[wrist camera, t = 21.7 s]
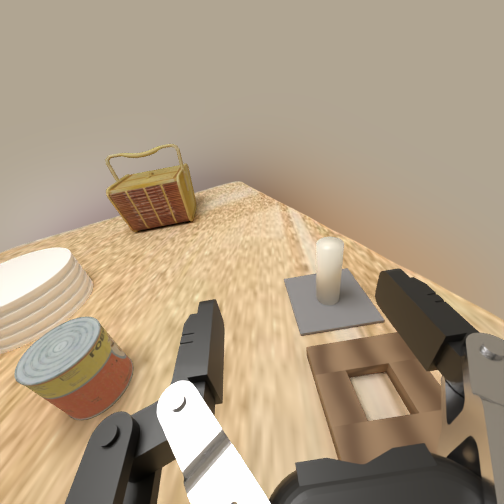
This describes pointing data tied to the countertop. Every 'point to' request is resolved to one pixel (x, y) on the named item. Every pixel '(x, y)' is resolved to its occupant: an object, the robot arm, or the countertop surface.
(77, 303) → the plate stack
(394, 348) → the walnut holder
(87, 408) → the canned food
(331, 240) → the cream cylinder
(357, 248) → the countertop surface
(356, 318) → the grey mat
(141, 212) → the picnic basket
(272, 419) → the countertop surface
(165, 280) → the countertop surface
